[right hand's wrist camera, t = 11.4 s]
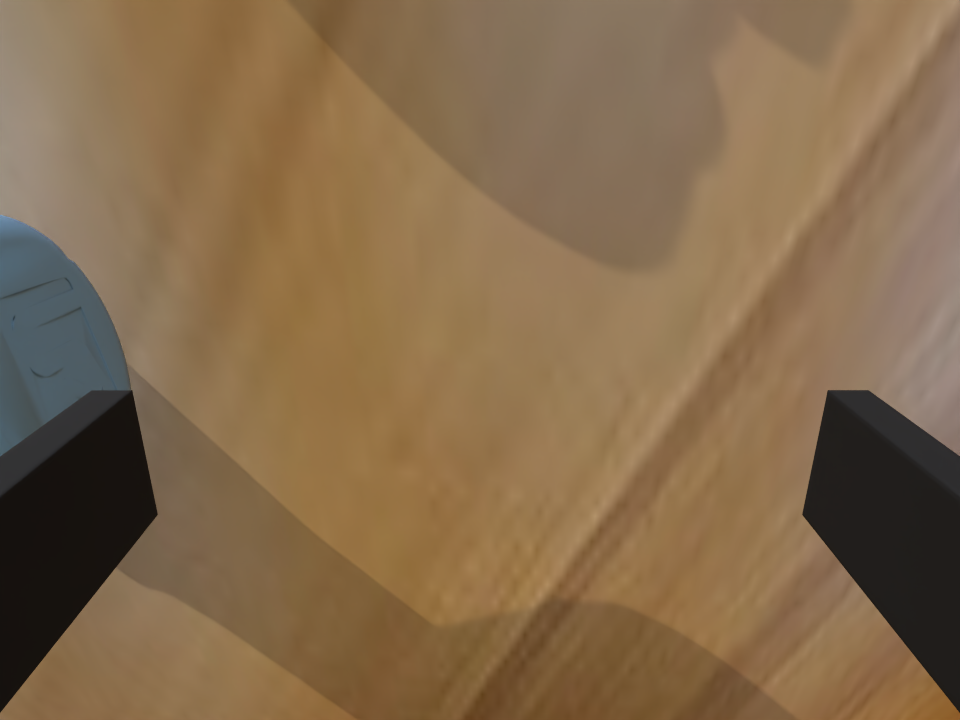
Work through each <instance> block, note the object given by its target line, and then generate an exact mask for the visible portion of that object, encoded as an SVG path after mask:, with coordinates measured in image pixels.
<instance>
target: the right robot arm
mask: <svg viewBox="0 0 960 720" xmlns="http://www.w3.org/2000/svg"><path fill="white" fill-rule="evenodd" d="M157 515H158V514H157V509H156V504H155V499H154V494H153V489H152V485H151V480H150V475H149V470H148V465H147V460H146V455H145V451H144V446H143V441H142V436H141V431H140V426H139V421H138V417H137V412H136V407H135V402H134V397H133V392H132V390H91V391H90V392H89V393H87V394H86V395H84V396H83V397H82V398H80V399H79V400H78V401H76V402H75V403H73V404H72V405H71V406H69V407H68V408H66V409H65V410H64V411H62V412H61V413H60V414H58V415H57V416H55V417H54V418H53V419H51V420H50V421H49V422H47V423H46V424H44V425H43V426H42V427H40V428H39V429H37V430H36V431H35V432H33V433H32V434H31V435H29V436H28V437H26V438H25V439H24V440H22V441H21V442H19V443H18V444H17V445H15V446H14V447H13V448H11V449H10V450H8V451H7V452H6V453H4V454H3V455H2V456H0V712H1V711H2V710H3V709H4V707H5V706H6V705H7V704H8V702H9V701H10V700H11V698H12V697H13V696H14V695H15V693H16V692H17V691H18V690H19V688H20V687H21V686H22V685H23V683H24V682H25V681H26V680H27V678H28V677H29V676H30V675H31V673H32V672H33V671H34V670H35V668H36V667H37V666H38V665H39V663H40V662H41V661H42V660H43V658H44V657H45V656H46V654H47V653H48V652H49V651H50V649H51V648H52V647H53V646H54V644H55V643H56V642H57V641H58V639H59V638H60V637H61V636H62V634H63V633H64V632H65V631H66V629H67V628H68V627H69V626H70V624H71V623H72V622H73V621H74V619H75V618H76V617H77V616H78V614H79V613H80V612H81V610H82V609H83V608H84V607H85V605H86V604H87V603H88V602H89V600H90V599H91V598H92V597H93V595H94V594H95V593H96V592H97V590H98V589H99V588H100V587H101V585H102V584H103V583H104V582H105V580H106V579H107V578H108V577H109V575H110V574H111V573H112V571H113V570H114V569H115V568H116V566H117V565H118V564H119V563H120V561H121V560H122V559H123V558H124V556H125V555H126V554H127V553H128V551H129V550H130V549H131V548H132V546H133V545H134V544H135V543H136V541H137V540H138V539H139V538H140V536H141V535H142V534H143V533H144V531H145V530H146V529H147V527H148V526H149V525H150V524H151V522H152V521H153V520H154V519H155V517H156V516H157ZM802 515H803V516H804V517H805V519H806V520H807V521H808V522H809V524H810V525H811V526H812V527H813V529H814V530H815V531H816V533H817V534H818V535H819V536H820V538H821V539H822V540H823V541H824V543H825V544H826V545H827V546H828V548H829V549H830V550H831V551H832V553H833V554H834V555H835V556H836V558H837V559H838V560H839V561H840V563H841V564H842V565H843V566H844V568H845V569H846V570H847V571H848V573H849V574H850V575H851V577H852V578H853V579H854V580H855V582H856V583H857V584H858V585H859V587H860V588H861V589H862V590H863V592H864V593H865V594H866V595H867V597H868V598H869V599H870V600H871V602H872V603H873V604H874V605H875V607H876V608H877V609H878V610H879V612H880V613H881V614H882V616H883V617H884V618H885V619H886V621H887V622H888V623H889V624H890V626H891V627H892V628H893V629H894V631H895V632H896V633H897V634H898V636H899V637H900V638H901V639H902V641H903V642H904V643H905V644H906V646H907V647H908V648H909V649H910V651H911V652H912V653H913V654H914V656H915V657H916V658H917V660H918V661H919V662H920V663H921V665H922V666H923V667H924V668H925V670H926V671H927V672H928V673H929V675H930V676H931V677H932V678H933V680H934V681H935V682H936V683H937V685H938V686H939V687H940V688H941V690H942V691H943V692H944V693H945V695H946V696H947V697H948V698H949V700H950V701H951V702H952V704H953V705H954V706H955V707H956V709H957V710H958V711H959V712H960V456H958V455H957V454H956V453H954V452H953V451H952V450H950V449H949V448H947V447H946V446H945V445H943V444H942V443H941V442H939V441H938V440H936V439H935V438H934V437H932V436H931V435H929V434H928V433H927V432H925V431H924V430H923V429H921V428H920V427H918V426H917V425H916V424H914V423H913V422H911V421H910V420H909V419H907V418H906V417H905V416H903V415H902V414H900V413H899V412H898V411H896V410H895V409H894V408H892V407H891V406H889V405H888V404H887V403H885V402H884V401H882V400H881V399H880V398H878V397H877V396H876V395H874V394H873V393H871V392H870V391H869V390H828V392H827V397H826V402H825V407H824V412H823V417H822V421H821V426H820V431H819V436H818V441H817V446H816V451H815V455H814V460H813V465H812V470H811V475H810V480H809V485H808V489H807V494H806V499H805V504H804V509H803V514H802Z"/></svg>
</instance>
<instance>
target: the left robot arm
mask: <svg viewBox="0 0 960 720" xmlns="http://www.w3.org/2000/svg"><path fill="white" fill-rule="evenodd" d="M91 390H131V385H130V379H129V374H128V369H127V364H126V360H125V356H124V353H123V350H122V346H121V343H120V340H119V337H118V335H117V332H116V330H115V327H114V325H113V322H112V320H111V318H110V316H109V314H108V312H107V310H106V308H105V306H104V304H103V302H102V300H101V299H100V297H99V295H98V294H97V292H96V290H95V289H94V287H93V286H92V284H91V283H90V281H89V280H88V279H87V277H86V276H85V275H84V273H83V272H82V271H81V269H80V268H79V267H78V266H77V265H76V264H75V262H73V261H71V260H70V259H68V258H67V256H66V255H65V254H64V253H63V251H62V250H61V249H60V248H59V247H58V246H57V245H56V244H55V243H54V242H53V241H52V240H50V239H49V238H48V237H46V236H45V235H43V234H42V233H40V232H39V231H37V230H36V229H34V228H32V227H30V226H28V225H27V224H25V223H23V222H20V221H18V220H15V219H13V218H10V217H6V216H3V215H0V456H2V455H3V454H4V453H6V452H7V451H8V450H10V449H11V448H13V447H14V446H15V445H17V444H18V443H19V442H21V441H22V440H24V439H25V438H26V437H28V436H29V435H31V434H32V433H33V432H35V431H36V430H37V429H39V428H40V427H42V426H43V425H44V424H46V423H47V422H49V421H50V420H51V419H53V418H54V417H55V416H57V415H58V414H60V413H61V412H62V411H64V410H65V409H66V408H68V407H69V406H71V405H72V404H73V403H75V402H76V401H78V400H79V399H80V398H82V397H83V396H84V395H86V394H87V393H89V392H90V391H91Z"/></svg>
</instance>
